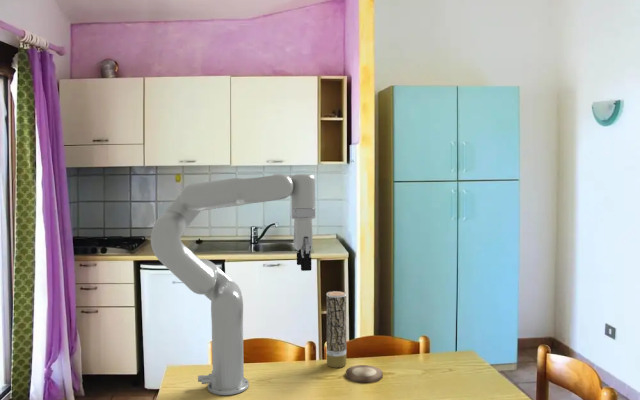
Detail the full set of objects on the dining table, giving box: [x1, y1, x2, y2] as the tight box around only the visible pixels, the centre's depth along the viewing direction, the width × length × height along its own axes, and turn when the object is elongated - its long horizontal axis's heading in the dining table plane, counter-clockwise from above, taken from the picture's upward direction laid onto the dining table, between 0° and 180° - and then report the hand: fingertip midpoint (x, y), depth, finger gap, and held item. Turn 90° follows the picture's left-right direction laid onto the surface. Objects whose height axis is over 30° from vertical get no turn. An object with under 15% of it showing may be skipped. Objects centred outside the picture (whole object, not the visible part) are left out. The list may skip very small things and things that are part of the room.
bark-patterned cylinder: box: [325, 290, 347, 369], centre depth 183 cm, size 7×7×25 cm
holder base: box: [345, 364, 383, 384], centre depth 174 cm, size 12×12×1 cm
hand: (303, 267), depth 168 cm, fingers open, 9 cm apart
